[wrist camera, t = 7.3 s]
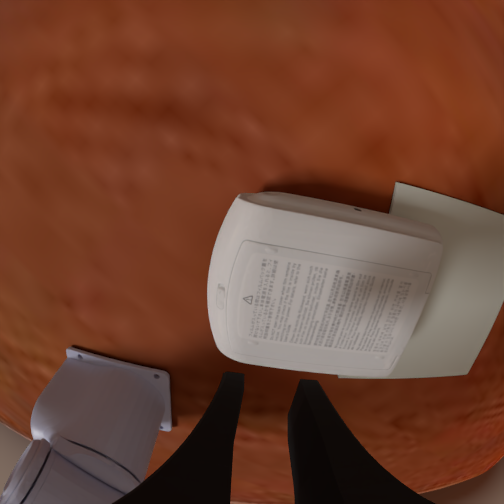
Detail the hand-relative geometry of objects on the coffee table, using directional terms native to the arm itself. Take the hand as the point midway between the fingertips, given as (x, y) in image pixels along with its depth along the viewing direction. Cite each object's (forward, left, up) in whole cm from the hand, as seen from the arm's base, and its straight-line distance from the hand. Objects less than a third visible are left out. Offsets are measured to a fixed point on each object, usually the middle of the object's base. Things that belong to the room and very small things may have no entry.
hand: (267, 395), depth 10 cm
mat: (+14, 0, -10) cm, 17 cm away
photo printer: (+9, +1, -8) cm, 12 cm away
